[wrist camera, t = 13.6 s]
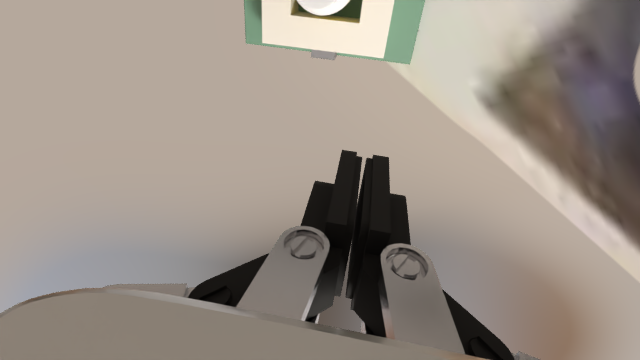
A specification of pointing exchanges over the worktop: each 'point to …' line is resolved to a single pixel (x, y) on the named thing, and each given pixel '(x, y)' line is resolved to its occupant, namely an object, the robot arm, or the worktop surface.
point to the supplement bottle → (323, 6)
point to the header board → (353, 8)
